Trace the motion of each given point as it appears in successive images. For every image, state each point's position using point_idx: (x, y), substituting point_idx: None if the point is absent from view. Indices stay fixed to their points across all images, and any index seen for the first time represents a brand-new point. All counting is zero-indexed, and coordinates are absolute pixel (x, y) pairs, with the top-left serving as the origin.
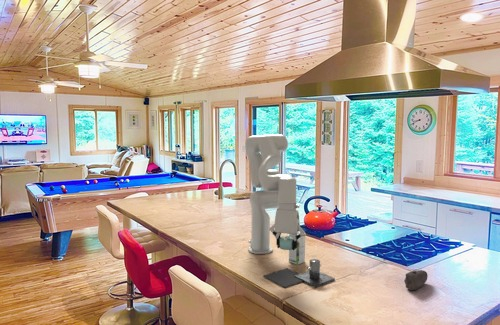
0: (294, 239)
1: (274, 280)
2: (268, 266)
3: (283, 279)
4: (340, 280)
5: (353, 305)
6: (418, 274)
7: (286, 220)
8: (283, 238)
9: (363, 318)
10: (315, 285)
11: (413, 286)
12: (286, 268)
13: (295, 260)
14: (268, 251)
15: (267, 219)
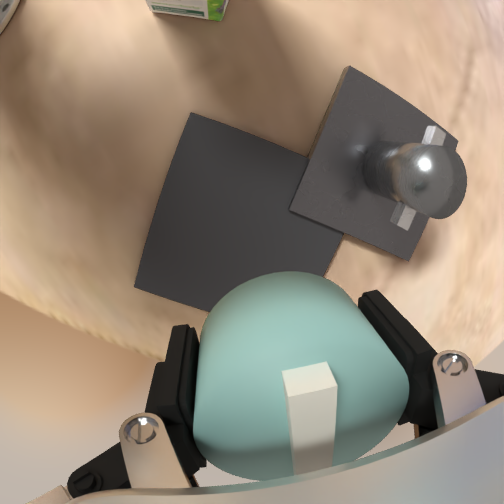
0: (424, 427)
1: None
2: (79, 143)
3: (251, 274)
4: (465, 129)
5: (495, 298)
6: None
7: None
8: (261, 448)
9: (500, 338)
10: (409, 258)
11: None
12: (190, 120)
13: (202, 10)
14: (11, 4)
15: None
